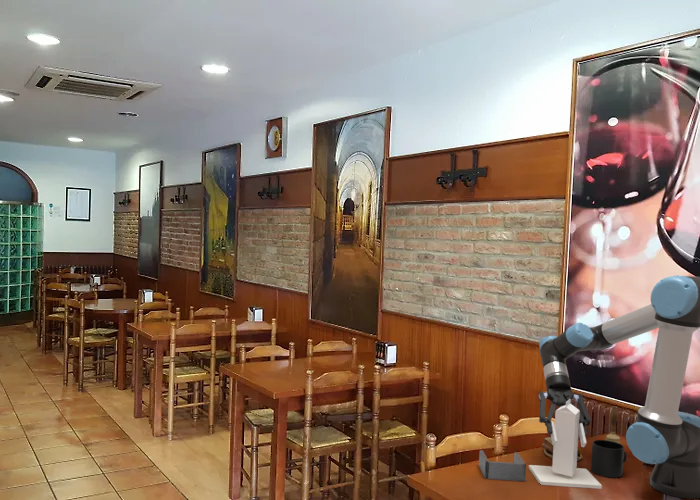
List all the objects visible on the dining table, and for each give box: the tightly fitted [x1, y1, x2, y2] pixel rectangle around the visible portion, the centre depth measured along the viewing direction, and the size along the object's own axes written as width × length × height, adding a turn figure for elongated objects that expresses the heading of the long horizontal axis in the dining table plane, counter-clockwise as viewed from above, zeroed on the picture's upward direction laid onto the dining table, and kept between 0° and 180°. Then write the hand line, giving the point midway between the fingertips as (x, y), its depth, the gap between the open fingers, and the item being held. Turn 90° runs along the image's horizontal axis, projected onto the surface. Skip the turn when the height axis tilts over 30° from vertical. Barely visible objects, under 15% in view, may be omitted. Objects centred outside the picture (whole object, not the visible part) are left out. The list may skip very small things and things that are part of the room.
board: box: [528, 464, 603, 490], centre depth 195 cm, size 18×14×1 cm
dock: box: [478, 449, 527, 482], centre depth 196 cm, size 12×11×5 cm
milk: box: [551, 399, 581, 476], centre depth 195 cm, size 6×6×22 cm
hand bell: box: [605, 405, 621, 444], centre depth 224 cm, size 8×8×16 cm
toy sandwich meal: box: [541, 436, 583, 462], centre depth 216 cm, size 12×14×5 cm
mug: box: [590, 439, 628, 479], centre depth 202 cm, size 9×12×9 cm
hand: (569, 444), depth 191 cm, fingers closed on milk, 8 cm apart
